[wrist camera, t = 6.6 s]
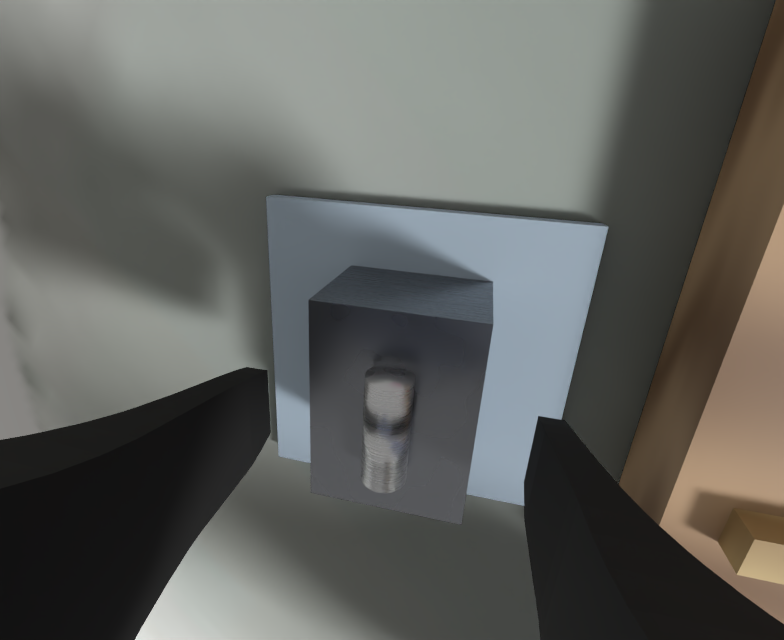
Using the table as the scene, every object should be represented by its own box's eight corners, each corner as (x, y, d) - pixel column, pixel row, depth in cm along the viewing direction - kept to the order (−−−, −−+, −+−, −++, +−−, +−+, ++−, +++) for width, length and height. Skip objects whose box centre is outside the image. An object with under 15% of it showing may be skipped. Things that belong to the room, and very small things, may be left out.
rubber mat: (537, 496, 16) (539, 508, 15) (285, 447, 18) (278, 456, 17) (603, 223, 12) (608, 227, 12) (274, 194, 14) (266, 196, 13)
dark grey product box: (467, 446, 15) (458, 555, 11) (347, 424, 16) (297, 519, 12) (493, 281, 13) (493, 342, 9) (351, 265, 14) (290, 314, 10)
